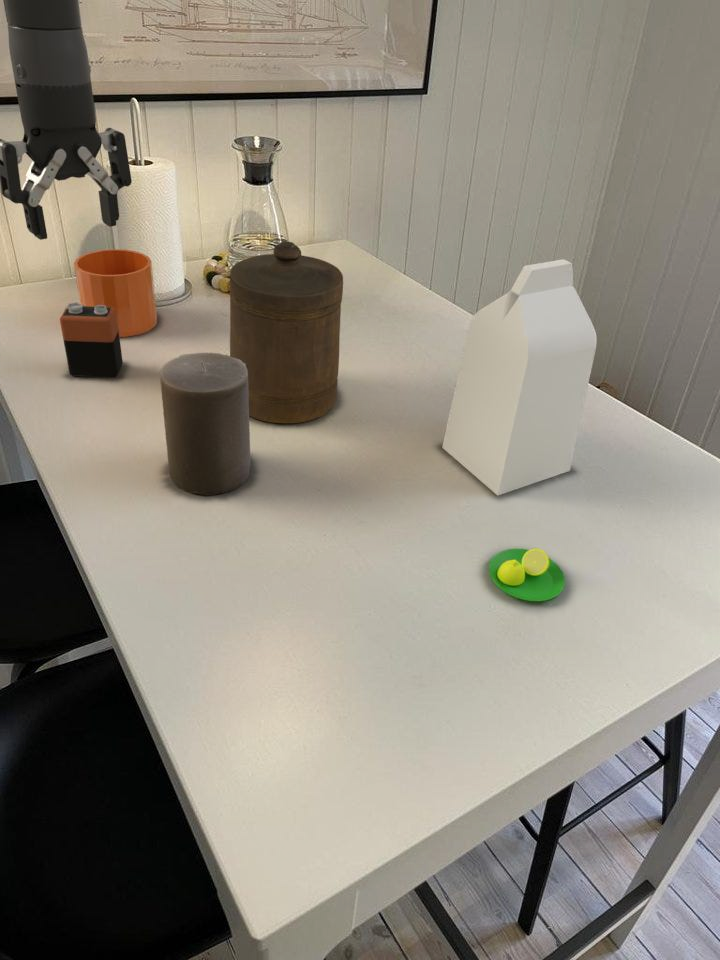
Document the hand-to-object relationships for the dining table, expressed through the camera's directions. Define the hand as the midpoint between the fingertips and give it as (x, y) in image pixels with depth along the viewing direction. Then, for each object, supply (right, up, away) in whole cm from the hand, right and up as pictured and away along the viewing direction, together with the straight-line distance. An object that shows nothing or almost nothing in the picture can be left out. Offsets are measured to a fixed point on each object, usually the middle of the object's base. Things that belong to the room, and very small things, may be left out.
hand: (75, 230), depth 88 cm
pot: (-6, -3, +35) cm, 35 cm away
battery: (-5, -13, +21) cm, 26 cm away
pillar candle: (+15, -28, +3) cm, 32 cm away
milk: (+52, -27, +10) cm, 59 cm away
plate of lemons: (+51, -40, -8) cm, 65 cm away
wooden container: (+22, -17, +19) cm, 34 cm away
